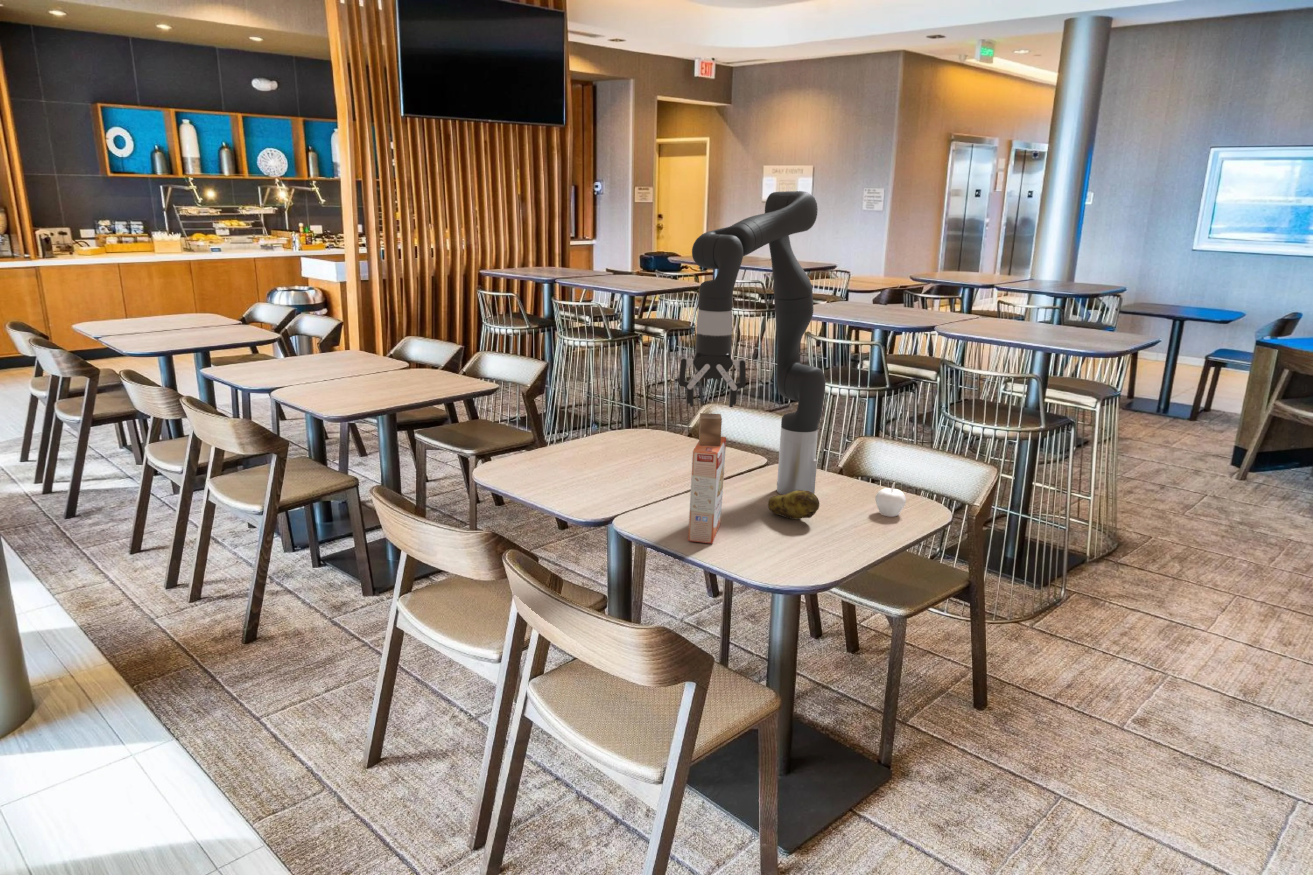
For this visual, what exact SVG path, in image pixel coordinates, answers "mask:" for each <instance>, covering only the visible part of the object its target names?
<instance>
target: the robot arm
mask: <svg viewBox="0 0 1313 875" xmlns="http://www.w3.org/2000/svg"><path fill="white" fill-rule="evenodd" d="M817 216H818V203H817V200H816V198H815V197H814V195H813V194H811V193H810V192H807V191H802V190H793V191H791V190H788V191H784V190H783V191H773V192H771V193H770V194H768V196H767V198H766V200H765V205H764V213H759V214H756V215H755V214H754V215H752V216H750V217H746V218H743V219H741V220H740V221H738V222H735V223H734V224H732V225H730V226H727V227H721V228H718V229H714V230H713V229H712V230H710V231H707V232H704V233H702V234H701V235H699V236H698V237H697V238H696V239H695V241H694V243H693V245H692V247H691V256H692V259H693V262H694V263H695V264H696V265H697V266H699V267H700V268H704V269H712V270H718V271H717V274H716V277H714V278H715V279H712V280H711V279H709V280H706V281H702V282H701V283H700V285H699V291H698V312H697V318H696V328H695V329H696V333H695V334H696V336H695V339H696V340H695V356H694V357H693V358H688V357H686V356H682V357H681V358H680V362H679V374H678V375H679V377H678V385H679V386H680V387H683V388H685V389H686V403H687V404H688V405H689V407H694V391H695V390H694V387H695V385H696V384H697V383H698V382H699V381H700V380H701V379H702V378H703V379H705V380H712V379H713V380H721V379H722V378H723V380H725V382H726V384H727V385H728V386H729V394H728V396H729V397H728V398H729V400H728V405H729V406H728V407H729V408H734V406H735V405H736V403H737V394H738V392H737V391H738V390H740V389H744V388H746V386H747V385H746V384H747V383H746V382H747V381H746V378H747V376H746V374H747V373H746V369H747V368H746V364H747V363H746V360H745V359H744V358H740V359H733V358H732V341H733V340H732V339H733V311H732V310H733V296H734V294H733V293H734V288H735V285H736V281H737V278H738V274H739V271H740V268H741V265H742V262H743V259H744V257H746V256H747V255H750V254H751V253H754V252H755V251H757V250H758V249H760V248H762V247H764V246H765V245H769V253H770V261H771V267H772V268H771V269H772V270H771V272H772V283H773V285H772V286H773V302H774V313H775V322H776V323H775V324H776V340H777V341H776V342H777V352H776V354H777V356H776V383H777V384H776V386H777V390H778V393H779V394H780V396H782V397H783V398H785V399H788V400H790V401H791V400H792V401H795V402H798V403H797V408H796V411H794V412H788V413H785V414H783V416H782V417H781V422H780V437H779V452H778V465H777V466H778V467H777V481H776V492H777V493H778V495H785V494H788V493H790V492H793V491H797V490H804V491H810V492H812V493H813V494H815V491H816V478H817V466H818V460H817V458H816V457H817V447H818V445H817V443H818V431H819V424H820V422H821V419H822V414H823V408H824V399H825V393H826V377H825V372H824V371H823V370H822V369H821V368H819V367H817V366H813V365H806V364H802V363H801V355H800V349H801V348H800V346H801V341H802V338H803V336H804V335H805V332H806V331H807V329H808V327H809V325H810V323H811V321H812V318H813V315H814V298H813V297H814V294H813V285H812V282H811V281H810V278H809V276H808V275H807V272H806V271H805V270H804V269H803V267H802V266H801V263H800V262H799V261H798V259H797V258H796V256H795V254H794V251H793V248H792V246H791V241H790V236H791V235H794V234H799V233H803V232H807V231H809V230H811V228H813V226H814V224H815V223H816V221H817V218H818V217H817ZM691 365H693V366H694V368H695V369H696V372H695V373H694V374H693V375H692V376H691V378H690V379H689V380H685V379H686V372H687V370H686V369H689V368H690V366H691ZM733 366H735V369H736V370H737V371H738V381H737V382H735V381H734V380H733V378H732V376H731V374H730V373H729V371H730V369H731V368H732V367H733Z"/></svg>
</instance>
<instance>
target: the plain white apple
mask: <svg viewBox="0 0 1313 875" xmlns="http://www.w3.org/2000/svg"><path fill="white" fill-rule="evenodd" d="M895 485H896V481H895V482H893V483H892V485H891V488H890V487H889V488H888V487H885V488H882V489H880V490H879V491H878V492H877V493H876V495H875V503H876V505H877V510H878V511H879V513H880V514H881V515H882V516H884V517H887V518H888V517H889V518H890V517H891V518H895V517H897V516H899V515H900V513H901V512H902V510H903V509H904V508H905V506H906V502H907V497H906V495H905V494H904V492H903V491H902V490H900V489H898V488H895Z"/></svg>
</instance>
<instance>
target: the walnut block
mask: <svg viewBox="0 0 1313 875" xmlns="http://www.w3.org/2000/svg"><path fill="white" fill-rule="evenodd" d="M722 423H723V418H722V414H721V413H699V429H698V430H699V431H698V442H699V444H700V445H708V446H720V445H721V436H722Z"/></svg>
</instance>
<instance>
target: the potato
mask: <svg viewBox="0 0 1313 875" xmlns="http://www.w3.org/2000/svg"><path fill="white" fill-rule="evenodd" d="M767 506H768V509H769V511H770V512H771V513H773V514H775V515H777V516H782V517H785V518H787V519H792V520H800V519H811V518H812V517H813V516H814V515H816V514H817V512H818V511H819V509H820V500H819V498H818V496H817V495H816V494H815V493H814V494H813V493H812V492H810V491H804V490H797V491H793V492H790V493H788V494H785V495H781V494H778V495H774V496H772V497H770V498H769V500H768V502H767Z"/></svg>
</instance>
